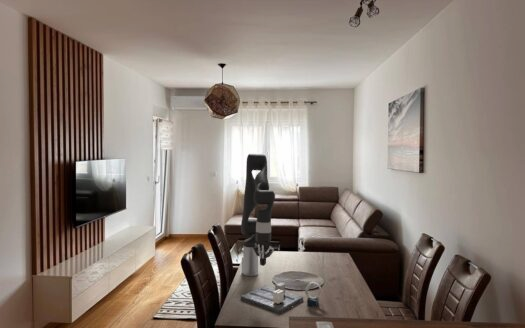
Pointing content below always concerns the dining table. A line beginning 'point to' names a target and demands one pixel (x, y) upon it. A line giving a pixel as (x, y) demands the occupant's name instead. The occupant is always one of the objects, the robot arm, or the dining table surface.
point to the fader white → (278, 296)
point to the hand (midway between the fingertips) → (262, 265)
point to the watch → (312, 300)
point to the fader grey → (280, 287)
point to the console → (271, 299)
